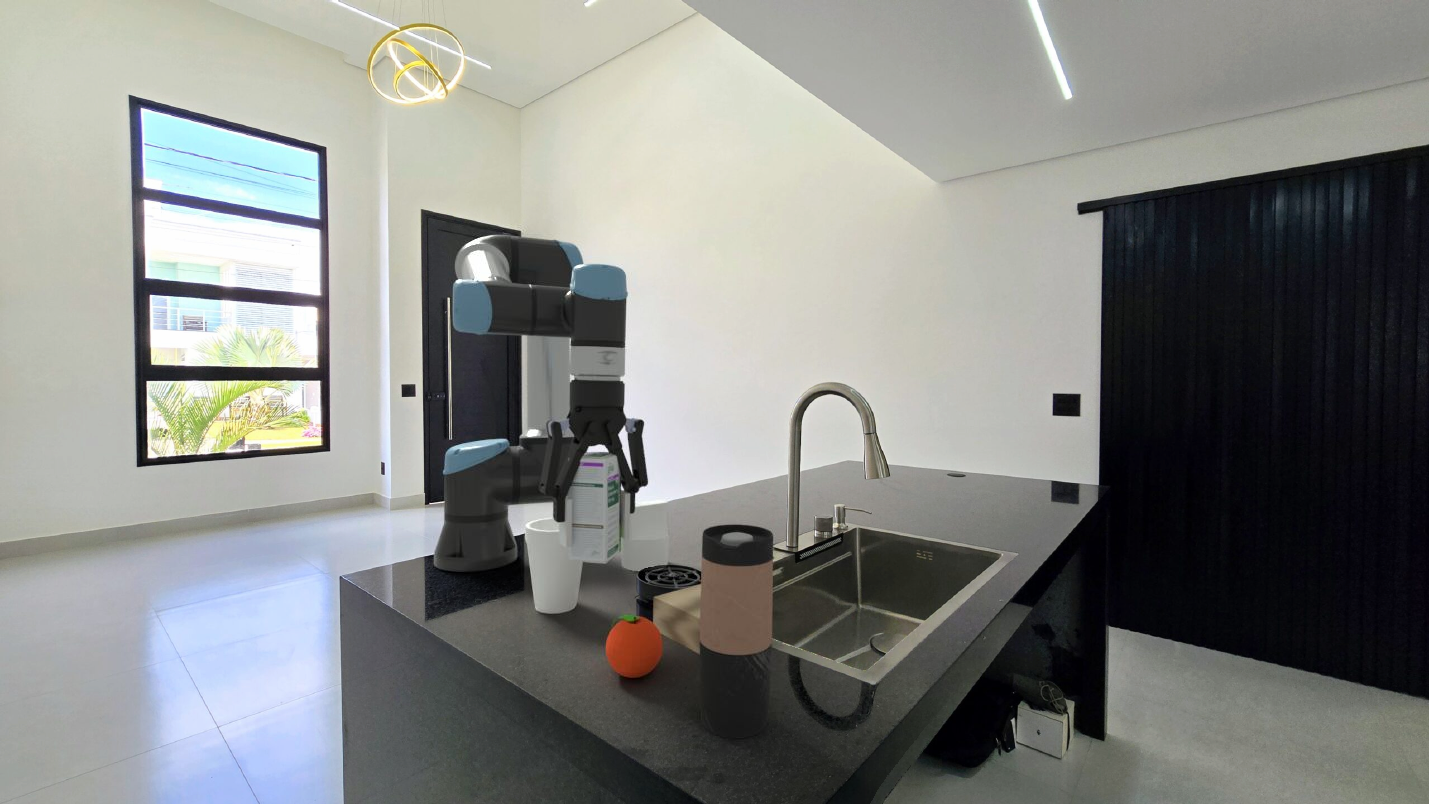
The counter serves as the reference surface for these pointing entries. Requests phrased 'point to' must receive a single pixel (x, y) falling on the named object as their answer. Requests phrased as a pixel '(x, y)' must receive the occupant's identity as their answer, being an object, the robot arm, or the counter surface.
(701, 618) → the travel mug
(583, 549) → the syrup box
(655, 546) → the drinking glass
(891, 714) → the counter surface
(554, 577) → the foam cup
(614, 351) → the robot arm
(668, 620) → the oak block
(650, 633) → the clementine
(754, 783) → the counter surface
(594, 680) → the counter surface
